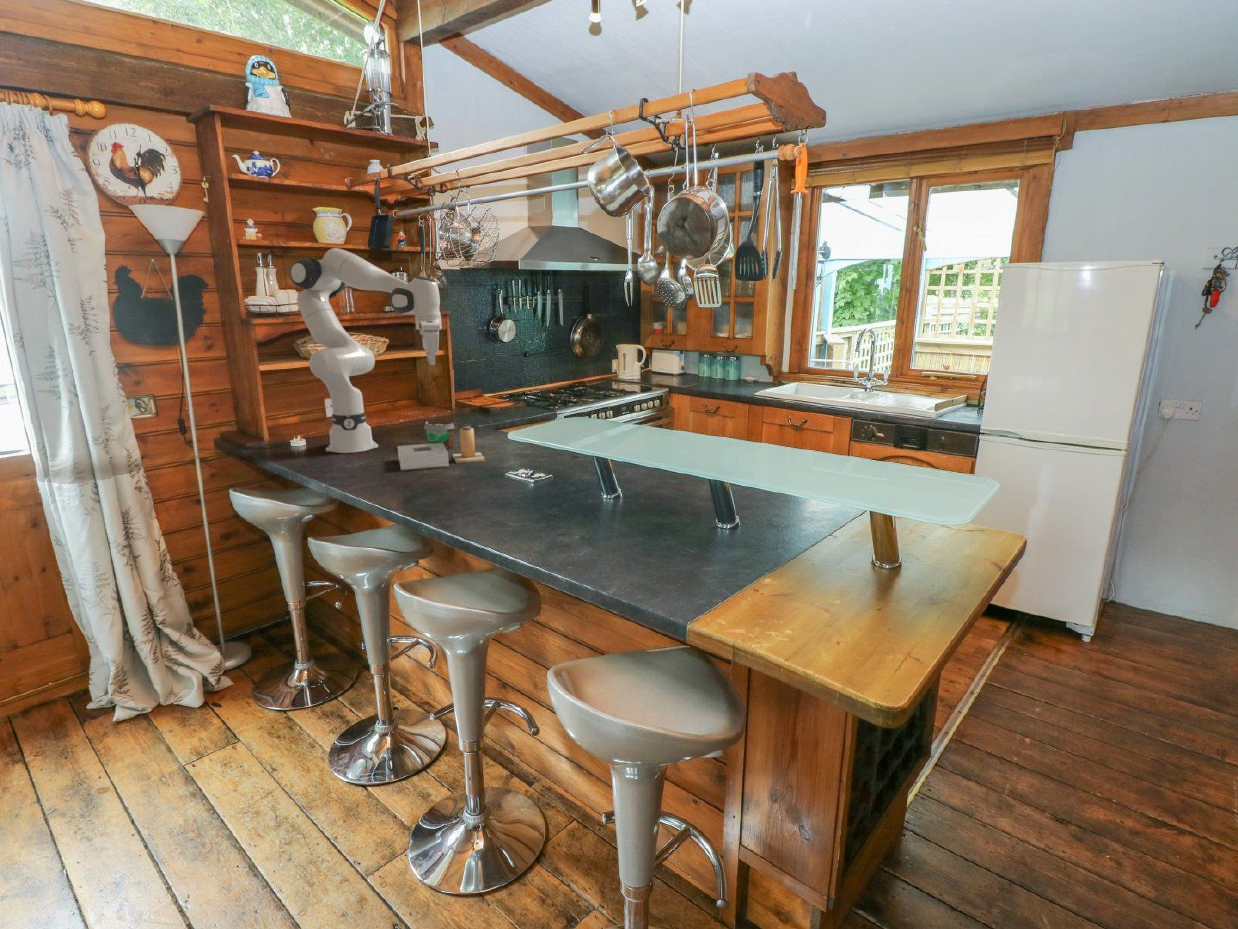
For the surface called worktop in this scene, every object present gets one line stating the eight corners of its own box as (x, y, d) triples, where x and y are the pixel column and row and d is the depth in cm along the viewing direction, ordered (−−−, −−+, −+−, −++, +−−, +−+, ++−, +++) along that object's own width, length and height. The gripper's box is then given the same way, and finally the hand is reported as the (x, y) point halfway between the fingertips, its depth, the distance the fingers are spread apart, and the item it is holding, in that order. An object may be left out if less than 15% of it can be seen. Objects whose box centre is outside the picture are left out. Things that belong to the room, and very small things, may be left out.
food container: (419, 449, 257) (417, 424, 255) (428, 446, 263) (426, 421, 260) (447, 451, 254) (445, 426, 251) (456, 448, 260) (454, 423, 257)
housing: (398, 459, 243) (397, 446, 241) (443, 455, 248) (442, 442, 247) (401, 470, 228) (399, 456, 227) (448, 466, 233) (447, 452, 232)
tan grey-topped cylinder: (460, 455, 245) (458, 426, 242) (474, 453, 246) (472, 425, 243) (462, 458, 240) (460, 429, 237) (476, 457, 242) (474, 427, 239)
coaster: (453, 456, 246) (452, 454, 246) (480, 454, 250) (480, 451, 249) (456, 463, 237) (456, 460, 237) (484, 460, 240) (484, 458, 240)
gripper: (417, 322, 244) (420, 361, 248) (421, 325, 226) (424, 366, 229) (434, 322, 246) (437, 360, 250) (440, 325, 228) (443, 366, 231)
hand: (431, 363), depth 239 cm, fingers open, 8 cm apart
